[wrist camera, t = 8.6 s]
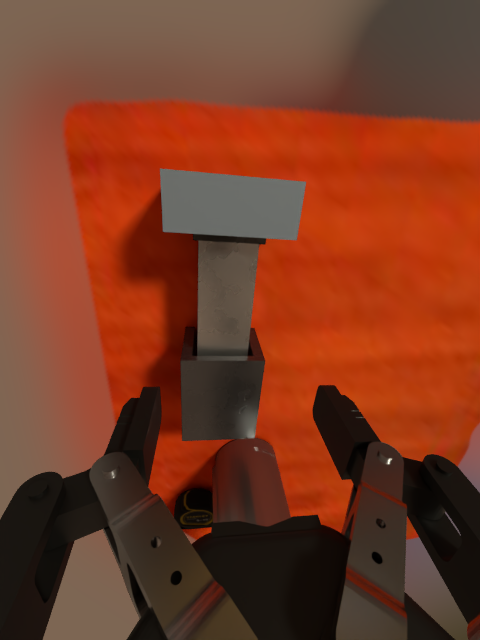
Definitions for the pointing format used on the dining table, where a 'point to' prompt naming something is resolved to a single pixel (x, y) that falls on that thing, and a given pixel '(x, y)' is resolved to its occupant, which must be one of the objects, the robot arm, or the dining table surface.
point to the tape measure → (194, 509)
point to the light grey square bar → (225, 293)
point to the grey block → (230, 205)
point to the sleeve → (220, 392)
